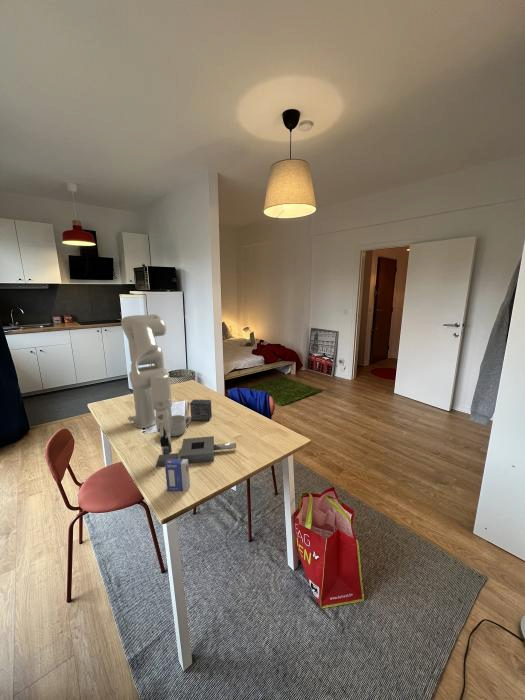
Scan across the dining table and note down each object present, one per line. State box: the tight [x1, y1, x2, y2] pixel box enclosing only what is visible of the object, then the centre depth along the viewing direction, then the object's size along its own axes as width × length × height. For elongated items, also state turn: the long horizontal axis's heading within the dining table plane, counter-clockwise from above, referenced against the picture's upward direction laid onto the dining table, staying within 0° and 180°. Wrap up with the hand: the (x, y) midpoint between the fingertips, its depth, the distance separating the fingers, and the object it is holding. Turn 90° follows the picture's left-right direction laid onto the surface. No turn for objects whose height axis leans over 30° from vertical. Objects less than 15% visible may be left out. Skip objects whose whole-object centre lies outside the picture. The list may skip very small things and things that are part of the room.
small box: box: [189, 399, 213, 422], centre depth 162 cm, size 11×6×10 cm, turn 84°
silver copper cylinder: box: [161, 431, 173, 455], centre depth 122 cm, size 4×4×12 cm
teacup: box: [170, 414, 191, 437], centre depth 147 cm, size 14×11×8 cm
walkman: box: [164, 458, 191, 492], centre depth 106 cm, size 8×3×12 cm, turn 89°
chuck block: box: [179, 435, 237, 465], centre depth 130 cm, size 24×14×4 cm, turn 99°
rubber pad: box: [155, 452, 179, 468], centre depth 125 cm, size 8×8×1 cm
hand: (165, 442), depth 123 cm, fingers closed on silver copper cylinder, 4 cm apart
